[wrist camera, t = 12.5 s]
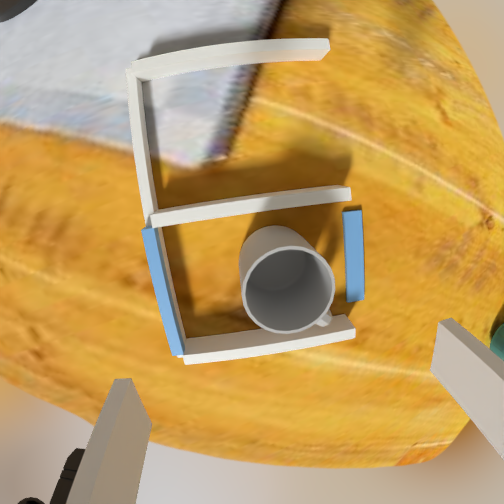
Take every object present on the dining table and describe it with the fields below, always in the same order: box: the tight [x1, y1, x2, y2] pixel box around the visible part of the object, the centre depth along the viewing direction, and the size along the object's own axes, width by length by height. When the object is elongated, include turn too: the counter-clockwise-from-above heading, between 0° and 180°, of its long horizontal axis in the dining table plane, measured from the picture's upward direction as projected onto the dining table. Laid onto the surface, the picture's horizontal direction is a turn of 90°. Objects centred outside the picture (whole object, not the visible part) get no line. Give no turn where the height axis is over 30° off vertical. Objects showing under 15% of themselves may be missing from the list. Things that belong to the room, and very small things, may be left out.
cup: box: [239, 225, 335, 334], centre depth 28 cm, size 7×10×9 cm
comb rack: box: [126, 38, 364, 365], centre depth 29 cm, size 30×21×4 cm
